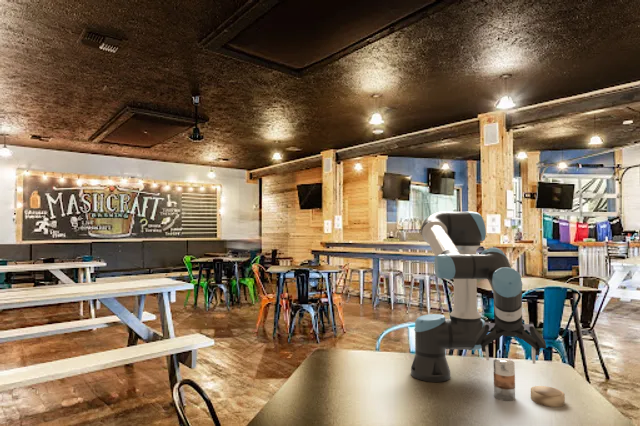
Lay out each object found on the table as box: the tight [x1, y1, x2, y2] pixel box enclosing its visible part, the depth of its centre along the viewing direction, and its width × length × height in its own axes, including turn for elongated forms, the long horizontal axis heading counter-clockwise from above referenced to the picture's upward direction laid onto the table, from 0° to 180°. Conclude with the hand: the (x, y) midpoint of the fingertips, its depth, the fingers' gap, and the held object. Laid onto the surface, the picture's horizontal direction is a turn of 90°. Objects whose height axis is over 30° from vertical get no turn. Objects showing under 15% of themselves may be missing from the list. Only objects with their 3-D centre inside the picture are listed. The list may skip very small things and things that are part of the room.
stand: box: [530, 385, 566, 408], centre depth 139 cm, size 10×10×3 cm
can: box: [493, 357, 516, 402], centre depth 142 cm, size 7×7×12 cm
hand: (510, 358), depth 134 cm, fingers open, 13 cm apart
